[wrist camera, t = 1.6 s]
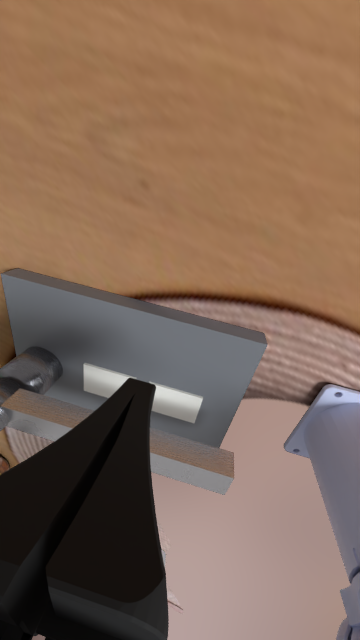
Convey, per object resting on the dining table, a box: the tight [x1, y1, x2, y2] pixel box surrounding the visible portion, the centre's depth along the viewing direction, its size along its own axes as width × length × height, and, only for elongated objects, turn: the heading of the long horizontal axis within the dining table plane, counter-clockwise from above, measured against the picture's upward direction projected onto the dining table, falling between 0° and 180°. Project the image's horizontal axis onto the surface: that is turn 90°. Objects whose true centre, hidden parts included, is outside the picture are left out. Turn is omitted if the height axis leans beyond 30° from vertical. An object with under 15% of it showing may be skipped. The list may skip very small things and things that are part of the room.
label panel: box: [1, 268, 267, 448], centre depth 20 cm, size 19×15×2 cm
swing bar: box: [0, 377, 234, 495], centre depth 15 cm, size 18×3×2 cm, turn 79°
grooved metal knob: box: [0, 347, 63, 395], centre depth 19 cm, size 4×4×4 cm
